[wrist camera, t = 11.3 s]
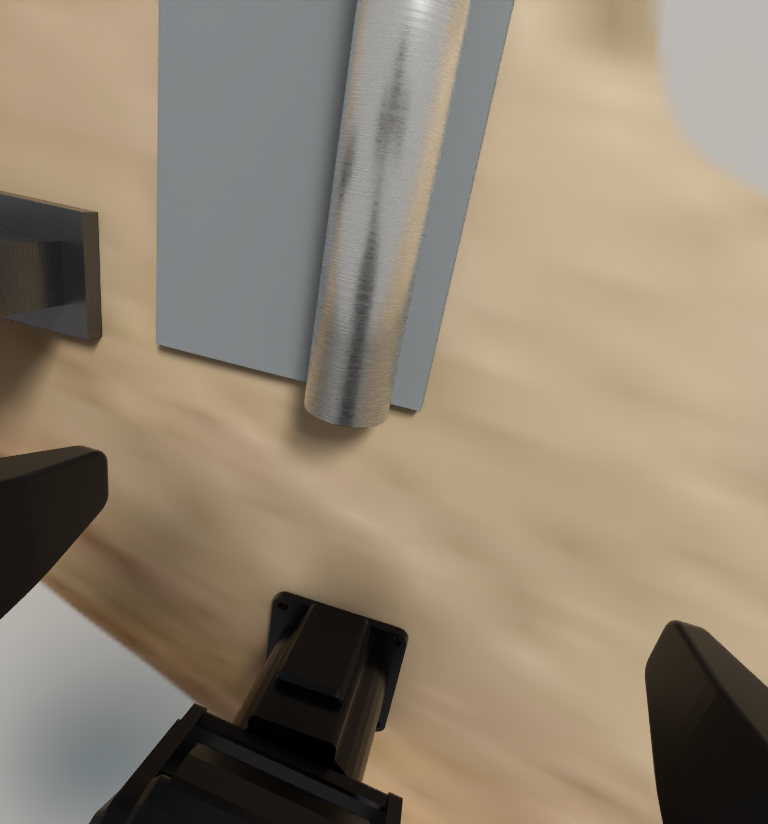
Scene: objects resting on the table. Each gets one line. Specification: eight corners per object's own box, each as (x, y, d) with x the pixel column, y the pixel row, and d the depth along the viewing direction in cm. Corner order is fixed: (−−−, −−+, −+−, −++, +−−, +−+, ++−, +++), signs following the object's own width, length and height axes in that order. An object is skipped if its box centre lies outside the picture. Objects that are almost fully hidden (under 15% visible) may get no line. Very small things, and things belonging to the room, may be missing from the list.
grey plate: (422, 406, 20) (419, 411, 19) (165, 340, 21) (156, 344, 21) (664, -659, 11) (672, -707, 10) (180, -638, 12) (164, -679, 12)
